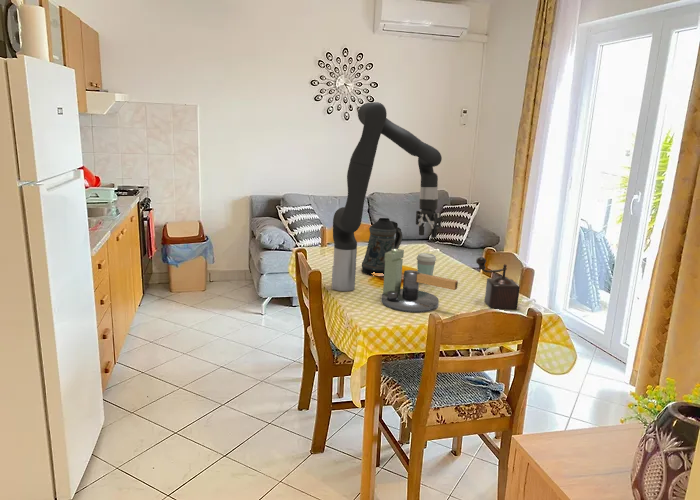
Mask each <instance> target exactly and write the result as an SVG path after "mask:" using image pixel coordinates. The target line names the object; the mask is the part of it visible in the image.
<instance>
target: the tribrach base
mask: <svg viewBox="0 0 700 500" xmlns="http://www.w3.org/2000/svg"><path fill="white" fill-rule="evenodd" d="M404 253H405V250H404V249H400V248H398V249H392V251H390V252H387V253H385V260H384V261H385V271H384V277H383V288H382V294H381V296H380V299H381V300H380V302H381V304H382V305H383V306H385V307H386V308H389V309H391V310H395V311H398V312H405V313H413V314H414V313H419V314H420V313H428V312H429V313H430V312H432V311H435V310H436V309H438V308H439V303H440V302H439V301H440V300H439V298H438V297H437V296H436V295H434V294H433V293H429V292H428V291H427V292H426V291H422V290H418V299H415V300H408V299H404V298H403V297H402V293H403V288H401V285H402V275H403V260H404V255H405V254H404Z"/></svg>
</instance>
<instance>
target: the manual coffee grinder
mask: <svg viewBox="0 0 700 500" xmlns="http://www.w3.org/2000/svg"><path fill="white" fill-rule="evenodd" d="M475 263H476V264H477V265H478V270H481V271H482V272H484V273H489V274H490V273H500V272H502V274H499V276H497V277H492V278H491V277H487V278H486V286H485V295H484V303H485V304H486V305H487V307H489V308H490V309H491V308H494V309H493V310H510V311H511V310H513V311H514V310H516V311H517V310H518V306H519V305H518V303H519V298H520V297H519V296H520V286H519V285H518V284H517V282H515V281H514V280H513V278H508V276H507V277H506V271H507V264H505V263H504V264H503V265H502V266H503V267H502V268H500V269H492V270H488V269H486V268H487V267H486V265H485V264H486V263H487V259H486V257H483V256H481V257H480V256H479V257H477V258H476V262H475Z"/></svg>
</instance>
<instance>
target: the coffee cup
mask: <svg viewBox="0 0 700 500" xmlns="http://www.w3.org/2000/svg"><path fill="white" fill-rule="evenodd" d="M416 260H417V261H416V262H417V263H416V265H417V271H418V272H420V273H422V274H427V275H432V276H434V271H435V264H436V261H437V257H436V255H435V254H433V253H429V252H421V253H417V257H416Z"/></svg>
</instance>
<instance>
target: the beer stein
mask: <svg viewBox="0 0 700 500" xmlns="http://www.w3.org/2000/svg"><path fill="white" fill-rule="evenodd" d="M368 230H369V236H368V237H369V238H368V242H367V247H366V251H365V255H364V258H363V260H362V262H361V269H362V273H363V274H364V275H366V276H367V275H368V276H371V277H374V276H373V275H372V274H371V273H373V272H375V273H383V274H384V271H385V261H384V260H385V253H387V252H390V251H392V249H400V246H401V245H402V241H403V232H402V229H401V228H400V227H398V223H397V222H396V221H394V220H390V218H388V217H379V218H378V220H377V221H375V222H374V223H373V224H371V225H370V226H369V228H368Z"/></svg>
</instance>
